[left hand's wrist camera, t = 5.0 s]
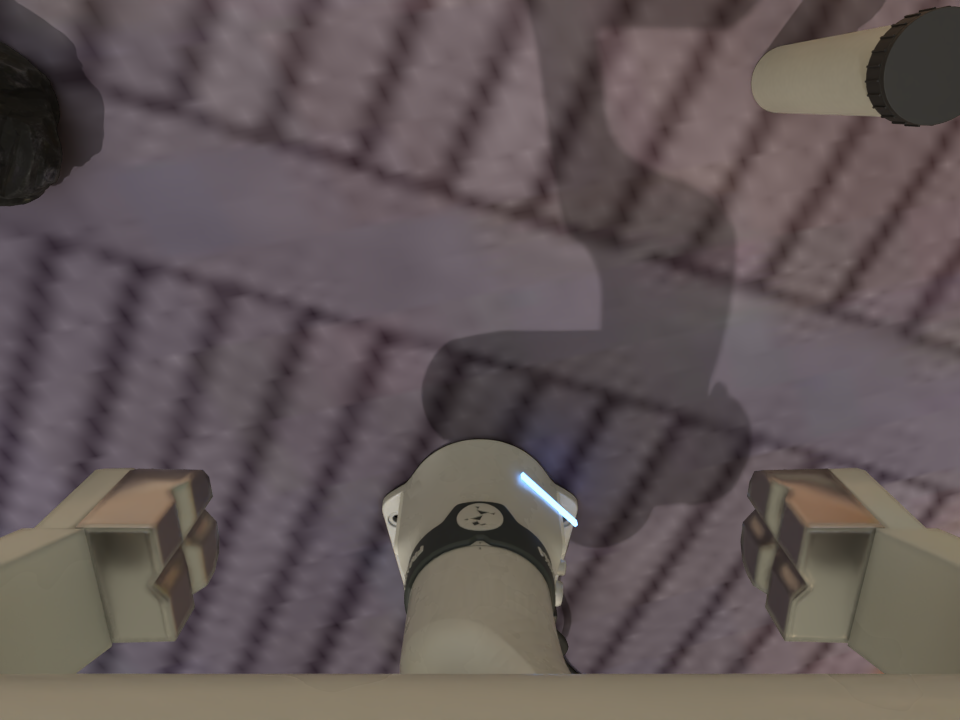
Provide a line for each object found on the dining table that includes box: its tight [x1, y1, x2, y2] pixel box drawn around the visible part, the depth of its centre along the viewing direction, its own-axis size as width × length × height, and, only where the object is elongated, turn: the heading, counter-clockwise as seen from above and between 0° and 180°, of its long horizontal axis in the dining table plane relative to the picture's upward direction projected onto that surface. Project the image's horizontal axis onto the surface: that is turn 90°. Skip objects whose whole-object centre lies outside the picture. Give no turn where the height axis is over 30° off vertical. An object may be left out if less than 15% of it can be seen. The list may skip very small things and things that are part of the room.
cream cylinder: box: [751, 25, 891, 116], centre depth 44 cm, size 5×5×19 cm
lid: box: [865, 6, 960, 127], centre depth 35 cm, size 6×6×2 cm
